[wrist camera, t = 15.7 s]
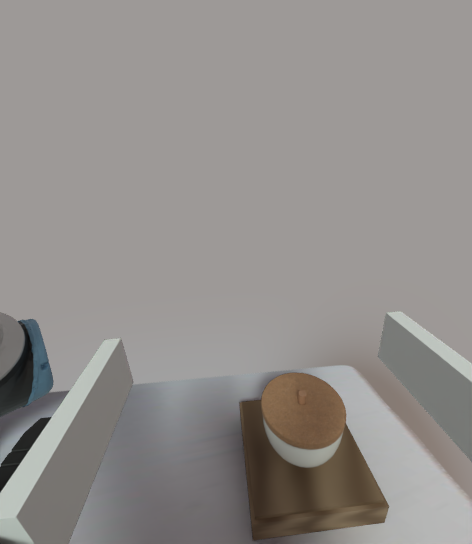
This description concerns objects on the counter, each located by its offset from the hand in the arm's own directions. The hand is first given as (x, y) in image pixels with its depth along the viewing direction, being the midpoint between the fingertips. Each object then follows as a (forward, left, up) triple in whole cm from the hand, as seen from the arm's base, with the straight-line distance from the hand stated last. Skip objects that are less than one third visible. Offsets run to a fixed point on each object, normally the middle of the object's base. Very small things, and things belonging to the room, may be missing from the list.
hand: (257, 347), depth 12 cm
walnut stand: (+1, +15, -32) cm, 35 cm away
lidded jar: (+1, +15, -28) cm, 32 cm away
